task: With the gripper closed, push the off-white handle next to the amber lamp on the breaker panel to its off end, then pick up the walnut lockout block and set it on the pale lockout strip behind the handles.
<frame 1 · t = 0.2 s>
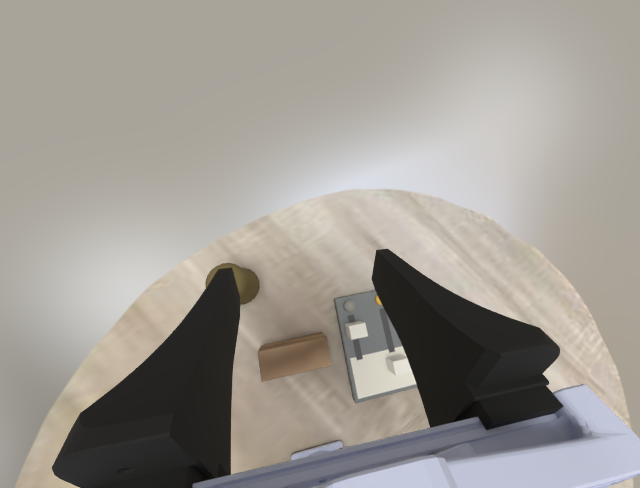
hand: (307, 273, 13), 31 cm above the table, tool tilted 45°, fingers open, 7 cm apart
breaker panel: (385, 337, 43), on the table
breaker: (398, 364, 39), point 3 cm above the table, slide at 0.0 cm
cork: (241, 286, 43), on the table
lockout block: (294, 351, 41), on the table
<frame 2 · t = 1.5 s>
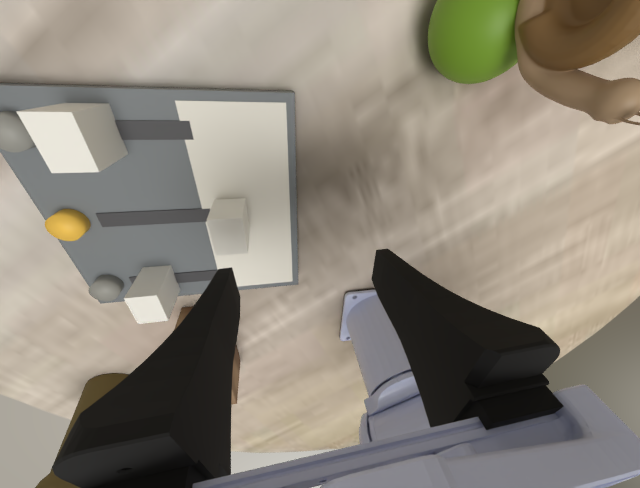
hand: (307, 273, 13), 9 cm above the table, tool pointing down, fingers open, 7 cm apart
breaker panel: (186, 206, 19), on the table
breaker: (230, 226, 17), point 3 cm above the table, slide at 0.0 cm
cork: (118, 386, 30), on the table
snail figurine: (450, 39, 16), on the table
lockout block: (214, 335, 28), on the table
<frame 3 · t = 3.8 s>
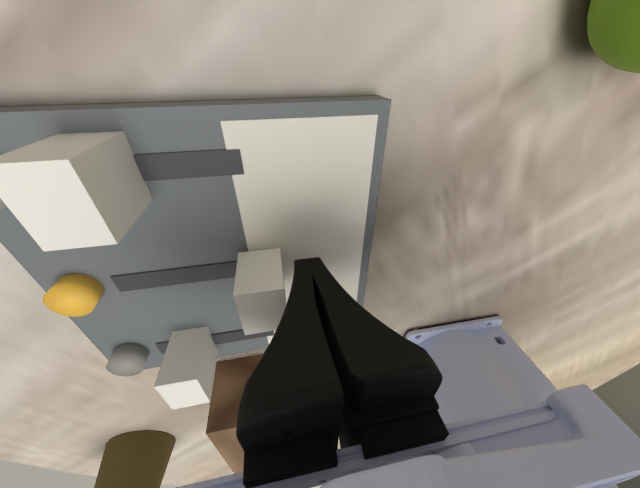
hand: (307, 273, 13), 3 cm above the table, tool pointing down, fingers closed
breaker panel: (225, 252, 14), on the table
breaker: (263, 289, 12), point 3 cm above the table, slide at 1.4 cm, touching gripper
cork: (143, 441, 26), on the table
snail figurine: (604, 7, 11), on the table
lockout block: (252, 385, 23), on the table
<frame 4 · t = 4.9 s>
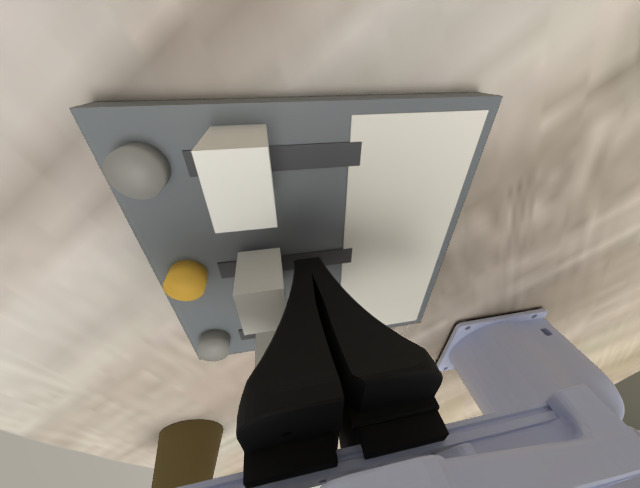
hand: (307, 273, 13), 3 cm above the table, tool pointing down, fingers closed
breaker panel: (311, 242, 15), on the table
breaker: (262, 289, 12), point 3 cm above the table, slide at 6.3 cm, touching gripper
cork: (192, 430, 26), on the table
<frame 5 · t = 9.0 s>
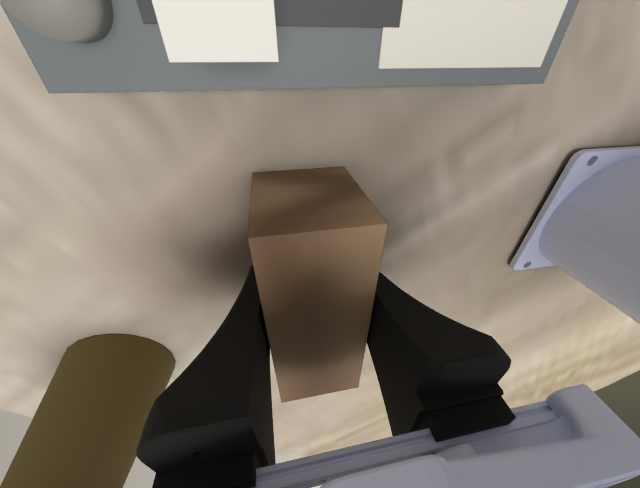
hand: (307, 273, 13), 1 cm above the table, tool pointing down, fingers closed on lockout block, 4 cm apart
cork: (124, 360, 16), on the table
lockout block: (303, 258, 14), on the table, touching gripper
when the fingers open (4 cm above the table, at t = 12.7 s): lockout block drops 1 cm, resting on breaker panel.
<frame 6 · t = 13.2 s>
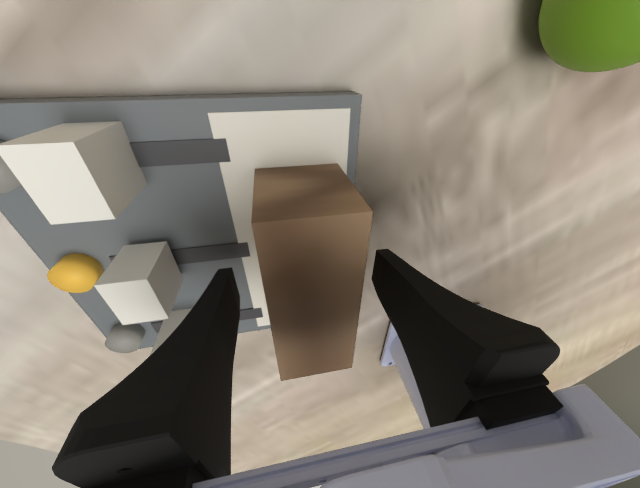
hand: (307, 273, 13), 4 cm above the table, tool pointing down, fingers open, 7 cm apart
breaker panel: (216, 237, 15), on the table
breaker: (145, 281, 12), point 3 cm above the table, slide at 6.4 cm
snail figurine: (557, 13, 12), on the table
lockout block: (301, 248, 15), point 2 cm above the table, touching breaker panel
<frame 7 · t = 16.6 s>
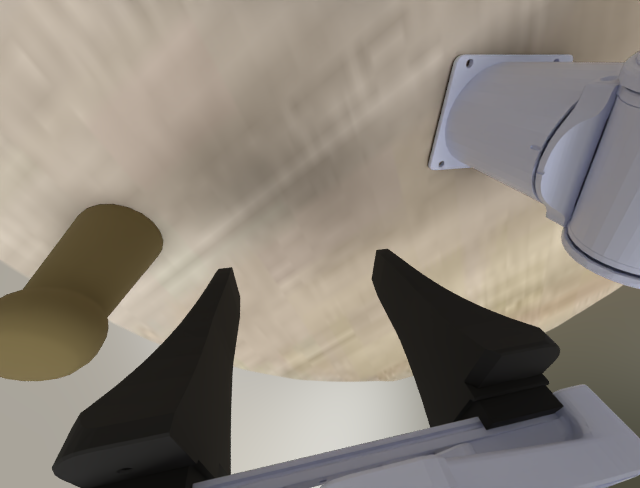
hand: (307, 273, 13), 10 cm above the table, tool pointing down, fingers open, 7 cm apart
cork: (122, 235, 21), on the table
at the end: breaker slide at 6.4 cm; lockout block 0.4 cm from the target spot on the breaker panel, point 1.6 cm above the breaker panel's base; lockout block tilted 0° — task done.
